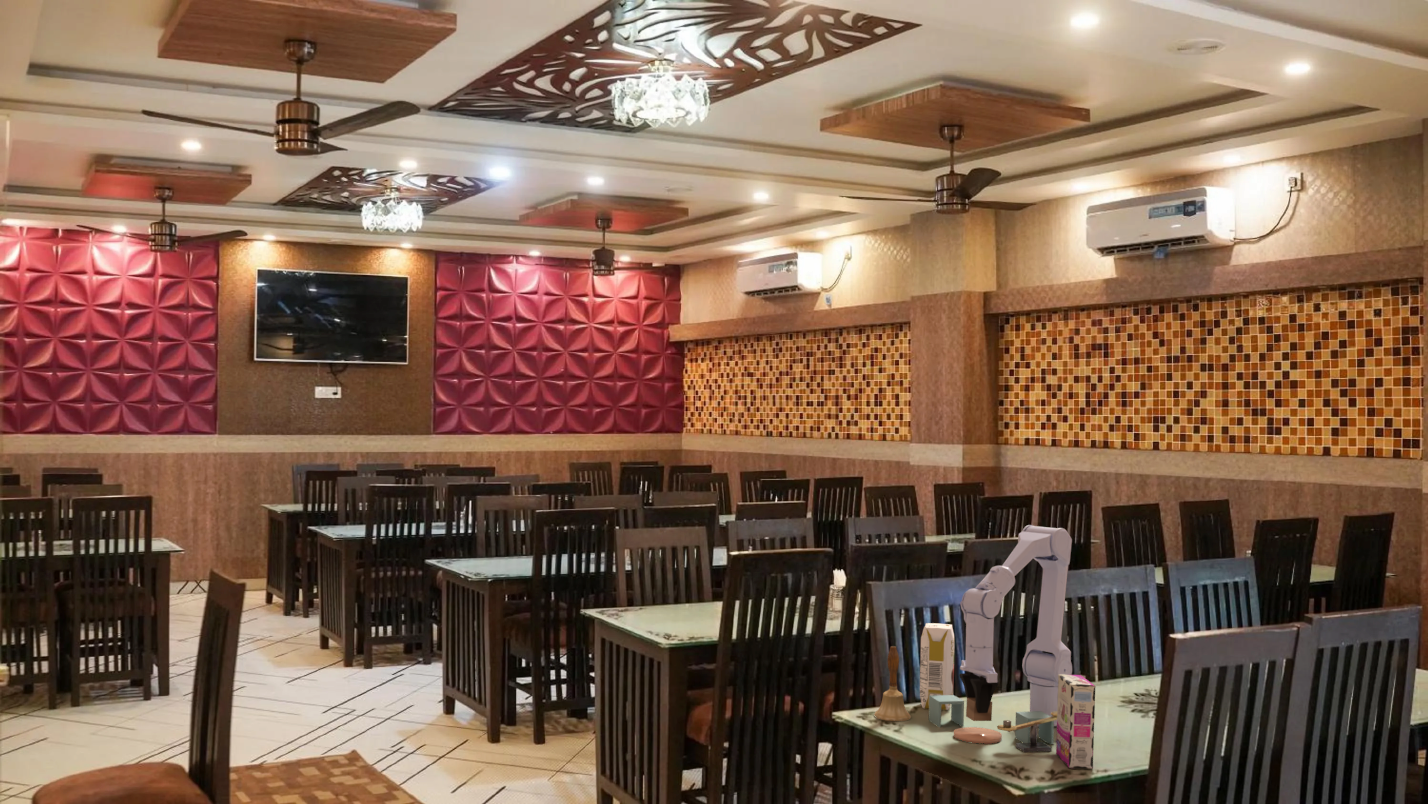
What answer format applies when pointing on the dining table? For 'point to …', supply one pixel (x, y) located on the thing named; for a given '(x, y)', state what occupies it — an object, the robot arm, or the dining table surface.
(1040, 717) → the teal cover
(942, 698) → the teal cover
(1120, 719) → the dining table surface
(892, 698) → the hand bell
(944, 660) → the juice carton
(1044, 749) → the balance
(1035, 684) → the robot arm
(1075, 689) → the candy bar box
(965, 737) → the terracotta dish
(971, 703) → the walnut block
